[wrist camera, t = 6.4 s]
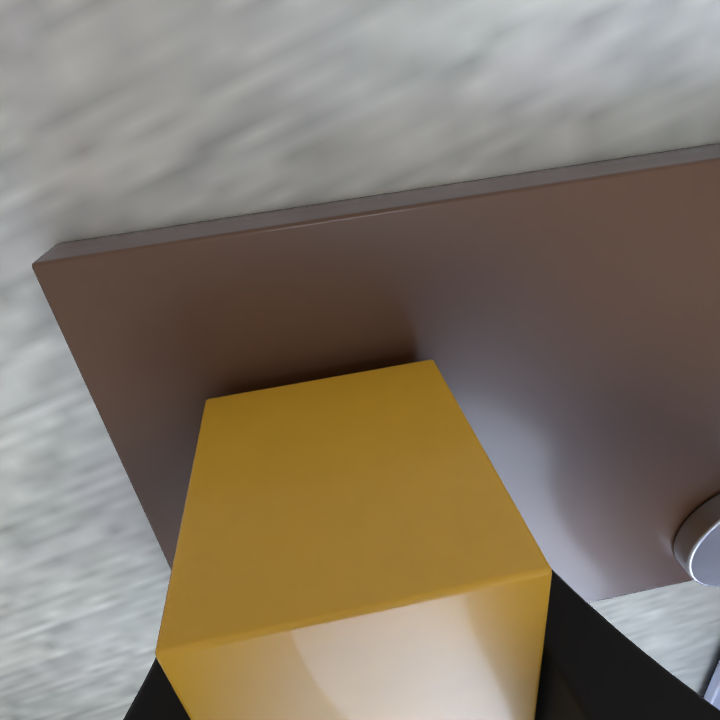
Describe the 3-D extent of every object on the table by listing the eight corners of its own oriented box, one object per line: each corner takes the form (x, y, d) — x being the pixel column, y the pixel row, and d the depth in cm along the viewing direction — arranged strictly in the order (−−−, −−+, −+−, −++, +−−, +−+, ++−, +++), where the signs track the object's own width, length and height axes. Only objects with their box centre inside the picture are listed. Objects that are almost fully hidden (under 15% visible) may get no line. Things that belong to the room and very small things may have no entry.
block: (443, 583, 14) (524, 820, 9) (276, 618, 13) (278, 882, 9) (433, 357, 10) (555, 569, 6) (204, 397, 10) (151, 656, 5)
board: (808, 520, 17) (841, 548, 16) (225, 644, 16) (222, 684, 15) (1005, 99, 11) (1082, 102, 10) (54, 243, 10) (28, 263, 8)
